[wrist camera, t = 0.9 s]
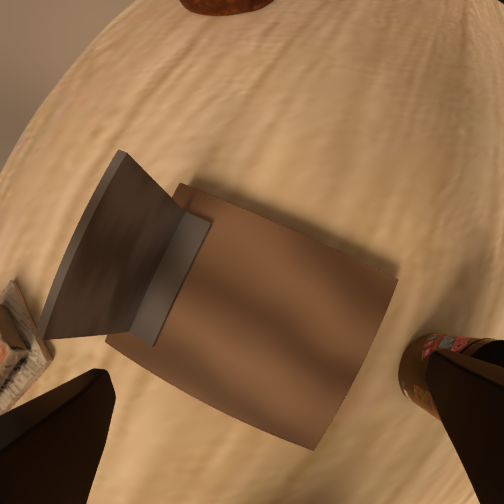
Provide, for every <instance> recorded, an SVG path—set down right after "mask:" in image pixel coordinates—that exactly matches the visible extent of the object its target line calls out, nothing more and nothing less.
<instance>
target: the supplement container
mask: <svg viewBox="0 0 504 504" xmlns="http://www.w3.org/2000/svg"><path fill="white" fill-rule="evenodd" d="M441 348H446V349H449V350H452V351H454V352H457V353H460V354H463V355H466V356H469V357H472V358H475V359H478V360H481V361H484V362H487V363H490V364H493V365H496V366H499V367H502V368H504V340H497V339H491V338H473V337H465V336H456V335H448V334H441V333H430V334H426V335H424V336H422V337H420V338H418V339H417V340H416V341H414V342H413V343H412V344H411V345H410V346H409V347H408V349H407V350H406V352H405V353H404V355H403V357H402V359H401V362H400V366H399V372H398V378H399V384H400V388H401V390H402V392H403V393H404V395H405V396H406V397H407V398H408V399H410V400H411V401H412V402H414V403H415V404H417V405H418V406H420V407H421V408H422V409H424V410H425V411H427V412H428V413H430V414H431V415H432V416H434V417H435V418H437V419H438V420H440V421H441V419H440V417H439V414H438V412H437V409H436V407H435V404H434V402H433V399H432V397H431V394H430V392H429V389H428V387H427V384H426V382H425V371H426V368H427V364H428V360H429V356H430V354H431V352H432V351H433V350H437V349H441ZM441 422H442V421H441Z"/></svg>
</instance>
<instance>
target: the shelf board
mask: <svg viewBox="0 0 504 504" xmlns="http://www.w3.org/2000/svg"><path fill="white" fill-rule="evenodd" d="M398 280H399V279H397V278H395V277H393V276H391V275H389V274H387V273H384V272H382V271H380V270H378V269H376V268H374V267H372V266H370V265H368V264H365V263H363V262H361V261H359V260H357V259H355V258H353V257H351V256H348V255H346V254H344V253H342V252H340V251H338V250H335V249H333V248H331V247H329V246H327V245H324V244H322V243H320V242H318V241H316V240H313V239H311V238H309V237H307V236H305V235H302V234H300V233H298V232H296V231H293V230H291V229H289V228H287V227H284V226H282V225H280V224H277V223H275V222H273V221H271V220H268V219H266V218H264V217H261V216H259V215H257V214H254V213H252V212H250V211H247V210H245V209H243V208H240V207H238V206H236V205H233V204H231V203H229V202H226V201H224V200H221V199H219V198H217V197H214V196H212V195H209V194H207V193H205V192H202V191H200V190H197V189H195V188H192V187H190V186H188V185H185V184H183V183H180V184H179V186H178V187H177V189H176V191H175V193H174V195H173V196H172V198H171V197H170V196H169V195H168V194H167V193H166V192H165V191H164V190H163V189H162V188H161V187H160V186H159V185H158V184H157V183H156V182H155V181H154V180H153V179H152V178H151V177H150V176H149V175H148V174H147V173H146V172H145V171H144V169H143V168H142V167H141V166H140V165H139V164H138V163H137V162H136V161H135V160H134V159H133V158H132V157H131V156H130V155H129V154H128V153H126V152H124V151H121V150H118V151H117V153H116V154H115V156H114V158H113V159H112V161H111V163H110V164H109V166H108V168H107V170H106V171H105V173H104V175H103V177H102V178H101V180H100V182H99V184H98V186H97V188H96V189H95V191H94V193H93V195H92V197H91V199H90V201H89V203H88V205H87V207H86V209H85V211H84V213H83V215H82V217H81V219H80V221H79V223H78V225H77V227H76V229H75V232H74V234H73V236H72V238H71V240H70V243H69V245H68V247H67V249H66V252H65V254H64V256H63V259H62V261H61V264H60V266H59V269H58V271H57V274H56V276H55V279H54V281H53V284H52V287H51V289H50V292H49V295H48V297H47V300H46V303H45V306H44V309H43V312H42V315H41V318H40V321H39V324H38V327H37V331H36V334H37V335H38V336H39V337H40V338H41V339H42V340H50V339H63V338H75V337H86V336H96V335H106V334H108V335H107V337H106V340H105V342H106V343H107V344H109V345H110V346H112V347H113V348H114V349H116V350H117V351H119V352H120V353H122V354H123V355H125V356H126V357H128V358H129V359H131V360H132V361H134V362H135V363H137V364H139V365H140V366H142V367H143V368H145V369H146V370H148V371H150V372H151V373H153V374H155V375H156V376H158V377H160V378H161V379H163V380H165V381H166V382H168V383H170V384H171V385H173V386H175V387H177V388H178V389H180V390H182V391H184V392H185V393H187V394H189V395H191V396H193V397H195V398H196V399H198V400H200V401H202V402H204V403H206V404H208V405H210V406H212V407H214V408H216V409H218V410H220V411H222V412H224V413H226V414H228V415H230V416H232V417H234V418H236V419H238V420H240V421H242V422H244V423H247V424H249V425H251V426H253V427H256V428H258V429H260V430H262V431H265V432H267V433H269V434H272V435H274V436H277V437H279V438H281V439H284V440H286V441H289V442H292V443H294V444H297V445H299V446H302V447H305V448H307V449H310V450H313V451H314V449H315V448H316V446H317V444H318V443H319V441H320V440H321V438H322V436H323V435H324V433H325V431H326V430H327V428H328V426H329V425H330V423H331V421H332V420H333V418H334V416H335V414H336V413H337V411H338V409H339V407H340V406H341V404H342V402H343V400H344V398H345V396H346V395H347V393H348V391H349V389H350V387H351V385H352V383H353V381H354V379H355V377H356V376H357V374H358V372H359V370H360V368H361V366H362V363H363V361H364V359H365V357H366V355H367V353H368V351H369V349H370V347H371V345H372V342H373V340H374V338H375V336H376V334H377V331H378V329H379V327H380V324H381V322H382V320H383V317H384V315H385V313H386V310H387V308H388V305H389V303H390V301H391V298H392V295H393V293H394V290H395V288H396V285H397V283H398Z"/></svg>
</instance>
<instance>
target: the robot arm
mask: <svg viewBox="0 0 504 504" xmlns="http://www.w3.org/2000/svg"><path fill="white" fill-rule="evenodd" d="M425 382H426V384H427V387H428V389H429V392H430V394H431V397H432V399H433V402H434V404H435V407H436V409H437V412H438V414H439V417H440V419H441V421H442V423H443V426H444V428H445V429H446V431H447V433H448V435H449V437H450V439H451V441H452V443H453V445H454V447H455V450H456V452H457V454H458V456H459V458H460V460H461V462H462V464H463V466H464V468H465V471H466V473H467V475H468V477H469V479H470V482H471V484H472V486H473V488H474V491H475V493H476V495H477V498H478V500H479V502H480V504H504V368H502V367H499V366H496V365H493V364H490V363H487V362H484V361H481V360H478V359H475V358H472V357H469V356H466V355H463V354H460V353H457V352H454V351H452V350H449V349H446V348H441V349H437V350H433V351H432V352H431V354H430V356H429V360H428V364H427V368H426V371H425ZM115 400H116V395H115V391H114V388H113V385H112V382H111V378H110V375H109V373H108V371H106V370H105V369H95V368H94V369H91V370H89V371H87V372H85V373H83V374H82V375H80V376H78V377H76V378H74V379H72V380H70V381H68V382H66V383H64V384H62V385H60V386H58V387H56V388H54V389H52V390H50V391H48V392H46V393H44V394H42V395H40V396H38V397H36V398H34V399H32V400H30V401H28V402H26V403H24V404H22V405H20V406H18V407H16V408H14V409H12V410H10V411H8V412H6V413H4V414H2V415H0V504H86V503H87V499H88V496H89V493H90V490H91V487H92V483H93V480H94V477H95V474H96V471H97V468H98V465H99V462H100V459H101V456H102V453H103V450H104V447H105V444H106V440H107V436H108V431H109V426H110V422H111V418H112V413H113V409H114V405H115Z"/></svg>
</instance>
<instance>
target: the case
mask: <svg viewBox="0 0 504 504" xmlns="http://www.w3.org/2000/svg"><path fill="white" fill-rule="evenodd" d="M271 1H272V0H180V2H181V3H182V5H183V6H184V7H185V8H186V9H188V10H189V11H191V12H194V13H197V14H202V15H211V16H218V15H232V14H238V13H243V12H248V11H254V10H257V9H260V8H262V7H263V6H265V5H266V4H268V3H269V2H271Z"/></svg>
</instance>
